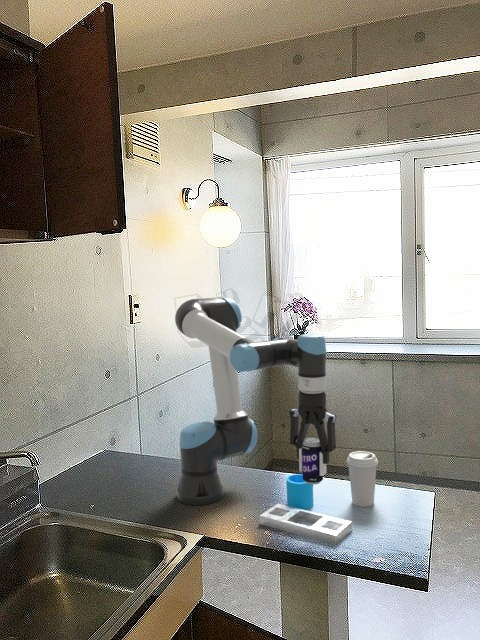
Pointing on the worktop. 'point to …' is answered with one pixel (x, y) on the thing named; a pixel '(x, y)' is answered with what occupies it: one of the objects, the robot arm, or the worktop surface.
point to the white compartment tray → (321, 530)
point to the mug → (299, 492)
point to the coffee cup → (362, 477)
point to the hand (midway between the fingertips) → (312, 471)
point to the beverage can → (311, 460)
